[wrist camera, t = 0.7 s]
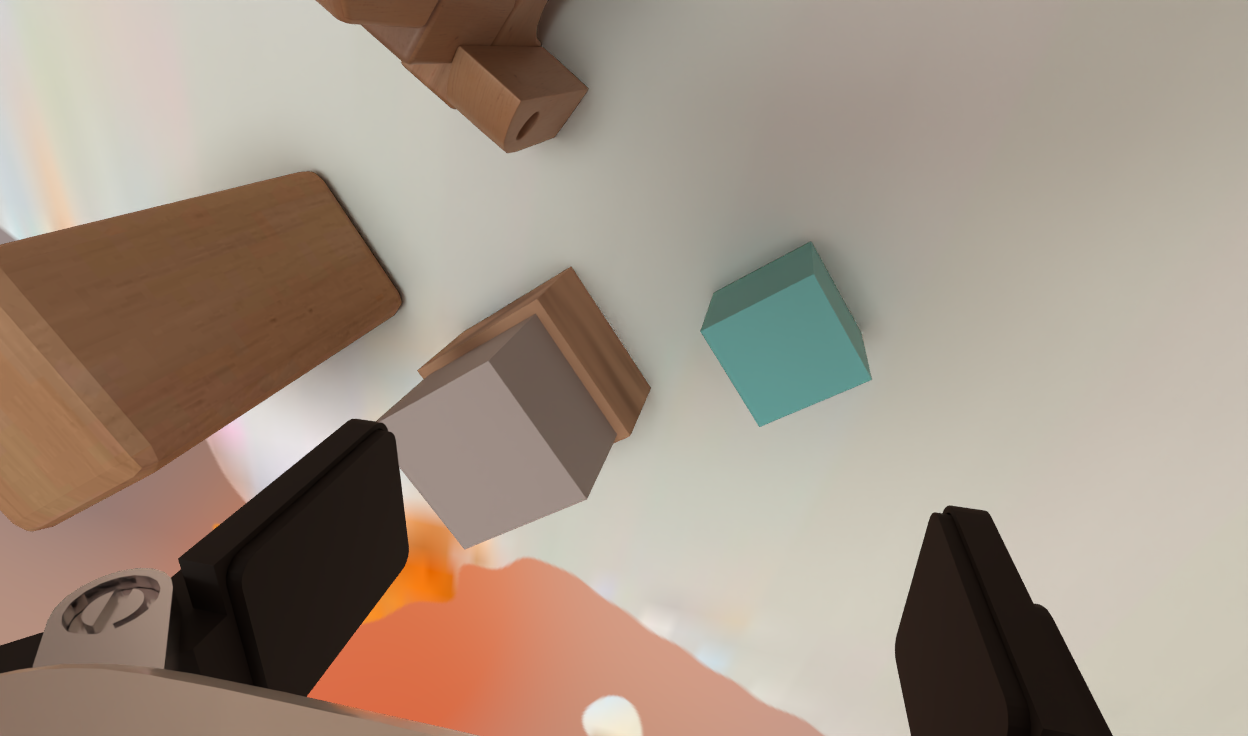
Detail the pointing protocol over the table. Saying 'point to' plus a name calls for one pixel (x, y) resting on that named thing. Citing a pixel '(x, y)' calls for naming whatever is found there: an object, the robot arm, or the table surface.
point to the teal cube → (786, 336)
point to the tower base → (568, 346)
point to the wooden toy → (477, 61)
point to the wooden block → (167, 333)
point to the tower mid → (501, 435)
